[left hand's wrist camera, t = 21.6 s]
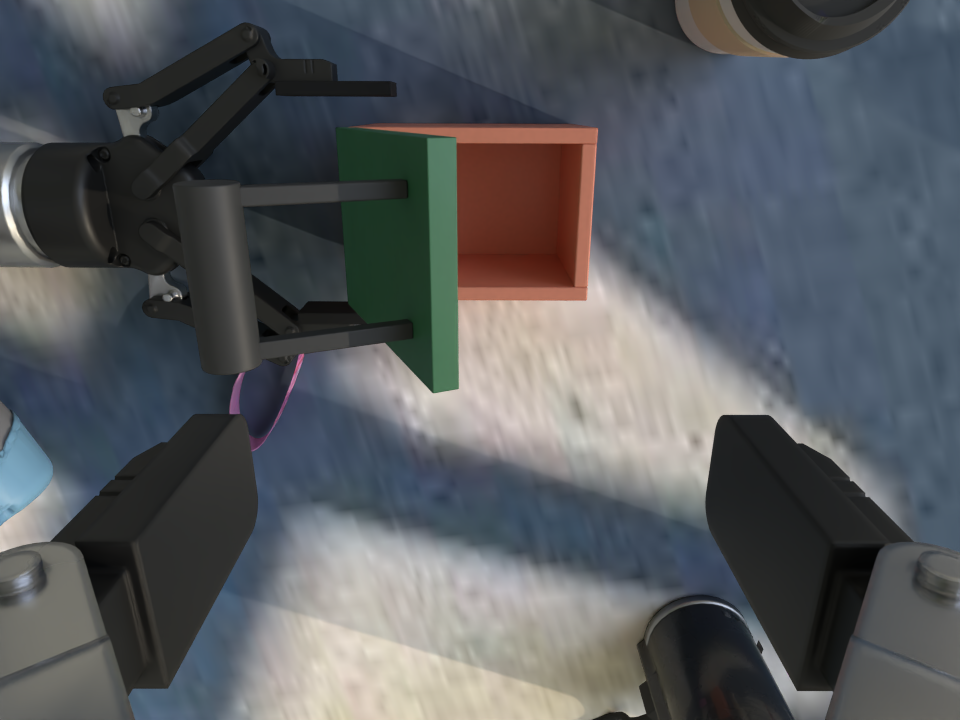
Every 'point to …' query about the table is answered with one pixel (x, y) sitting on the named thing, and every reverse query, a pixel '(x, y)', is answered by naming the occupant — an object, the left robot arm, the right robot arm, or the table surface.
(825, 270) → the table surface
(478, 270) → the chest
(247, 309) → the lid
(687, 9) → the coffee cup
